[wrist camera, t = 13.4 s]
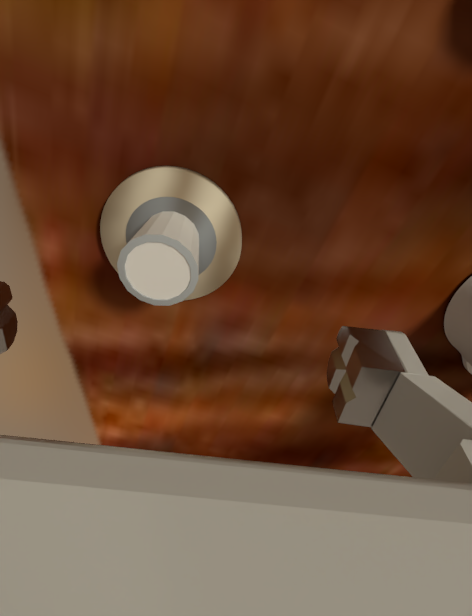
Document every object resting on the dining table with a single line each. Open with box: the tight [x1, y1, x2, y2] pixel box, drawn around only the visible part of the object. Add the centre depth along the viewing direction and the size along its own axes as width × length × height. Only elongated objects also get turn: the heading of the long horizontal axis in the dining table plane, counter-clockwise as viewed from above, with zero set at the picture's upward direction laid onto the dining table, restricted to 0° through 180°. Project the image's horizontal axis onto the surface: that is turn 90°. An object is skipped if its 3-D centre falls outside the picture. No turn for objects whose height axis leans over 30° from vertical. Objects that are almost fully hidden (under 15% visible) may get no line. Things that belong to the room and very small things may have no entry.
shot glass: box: [117, 211, 199, 305], centre depth 36 cm, size 7×7×7 cm
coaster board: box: [100, 166, 242, 300], centre depth 39 cm, size 14×14×1 cm
